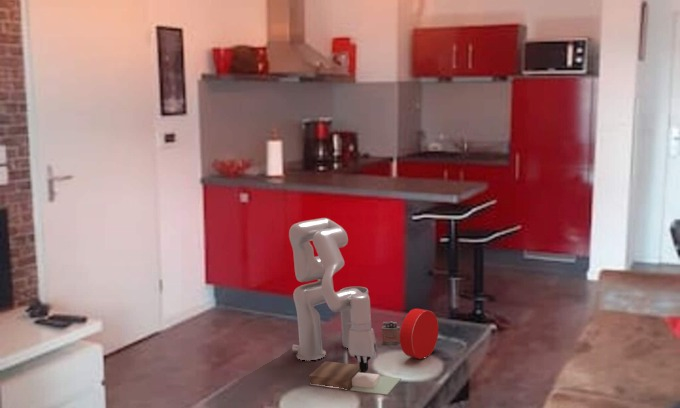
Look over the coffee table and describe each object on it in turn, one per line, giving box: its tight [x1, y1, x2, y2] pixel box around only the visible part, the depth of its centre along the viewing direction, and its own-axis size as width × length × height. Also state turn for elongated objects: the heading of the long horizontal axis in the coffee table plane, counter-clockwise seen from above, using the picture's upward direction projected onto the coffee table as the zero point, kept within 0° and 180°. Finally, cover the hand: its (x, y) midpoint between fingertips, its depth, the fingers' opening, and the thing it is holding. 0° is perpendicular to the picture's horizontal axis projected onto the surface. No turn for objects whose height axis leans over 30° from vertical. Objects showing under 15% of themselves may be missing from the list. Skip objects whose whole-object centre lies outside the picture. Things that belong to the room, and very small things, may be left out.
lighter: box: [381, 320, 401, 346], centre depth 323 cm, size 8×3×10 cm, turn 84°
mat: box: [349, 375, 402, 396], centre depth 281 cm, size 15×15×1 cm
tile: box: [351, 372, 381, 388], centre depth 282 cm, size 9×7×2 cm
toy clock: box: [399, 308, 439, 360], centre depth 305 cm, size 20×6×20 cm, turn 141°
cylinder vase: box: [339, 286, 369, 348], centre depth 322 cm, size 12×12×25 cm
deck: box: [308, 360, 363, 391], centre depth 288 cm, size 16×15×4 cm
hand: (364, 371), depth 282 cm, fingers closed
